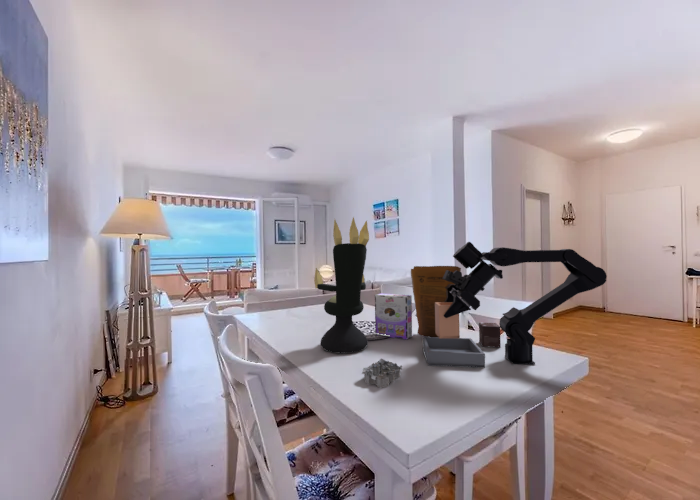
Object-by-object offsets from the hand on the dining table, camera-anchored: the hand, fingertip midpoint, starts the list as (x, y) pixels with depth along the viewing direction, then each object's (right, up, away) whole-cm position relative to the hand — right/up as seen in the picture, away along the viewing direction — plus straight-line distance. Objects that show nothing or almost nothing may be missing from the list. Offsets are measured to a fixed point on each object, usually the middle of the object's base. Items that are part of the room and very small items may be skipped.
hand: (442, 314), depth 98 cm
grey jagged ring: (-20, -14, -15) cm, 29 cm away
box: (+21, -14, +14) cm, 29 cm away
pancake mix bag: (+5, -14, +24) cm, 28 cm away
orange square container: (+1, -7, 0) cm, 7 cm away
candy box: (-12, -14, +26) cm, 32 cm away
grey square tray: (+3, -14, +1) cm, 14 cm away
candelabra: (-30, -14, +11) cm, 35 cm away
